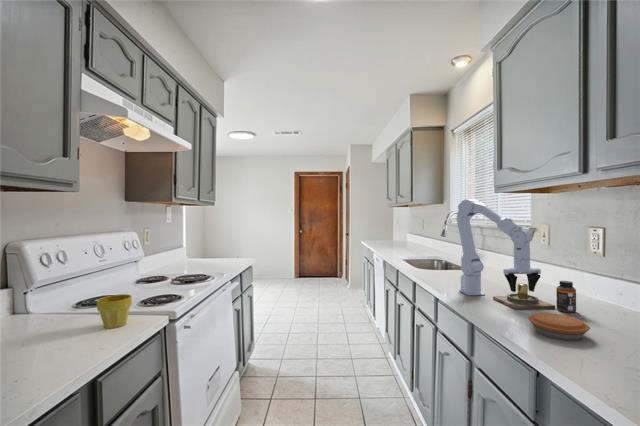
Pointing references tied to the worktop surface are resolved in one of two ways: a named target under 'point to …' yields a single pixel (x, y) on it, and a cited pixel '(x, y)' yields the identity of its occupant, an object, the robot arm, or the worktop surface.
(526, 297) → the planet gear
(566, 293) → the supplement bottle
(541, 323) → the pie
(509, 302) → the collar board
